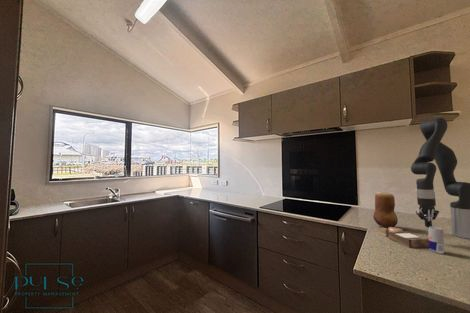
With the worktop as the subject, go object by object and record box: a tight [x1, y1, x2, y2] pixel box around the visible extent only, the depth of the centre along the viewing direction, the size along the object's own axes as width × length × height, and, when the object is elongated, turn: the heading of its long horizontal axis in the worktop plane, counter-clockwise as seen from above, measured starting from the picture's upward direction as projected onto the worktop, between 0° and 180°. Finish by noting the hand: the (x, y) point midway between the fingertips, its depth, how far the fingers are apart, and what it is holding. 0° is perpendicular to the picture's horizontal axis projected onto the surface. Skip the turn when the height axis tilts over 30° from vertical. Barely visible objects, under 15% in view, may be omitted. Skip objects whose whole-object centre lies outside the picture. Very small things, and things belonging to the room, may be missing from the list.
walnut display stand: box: [388, 231, 429, 249], centre depth 110 cm, size 12×12×4 cm
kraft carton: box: [396, 232, 422, 239], centre depth 110 cm, size 9×7×4 cm
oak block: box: [378, 227, 389, 237], centre depth 123 cm, size 4×4×4 cm
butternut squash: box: [372, 191, 399, 229], centre depth 137 cm, size 14×13×25 cm
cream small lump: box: [388, 226, 404, 232], centre depth 122 cm, size 7×7×4 cm
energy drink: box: [427, 225, 445, 255], centre depth 99 cm, size 5×5×12 cm
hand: (428, 227), depth 111 cm, fingers closed
